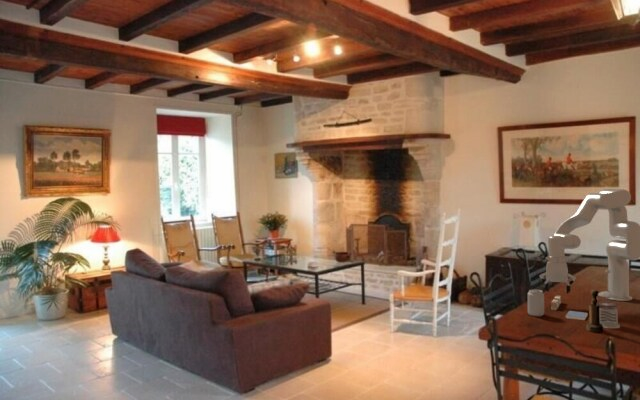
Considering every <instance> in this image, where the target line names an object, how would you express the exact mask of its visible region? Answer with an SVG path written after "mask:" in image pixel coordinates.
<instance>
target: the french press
mask: <svg viewBox="0 0 640 400" xmlns="http://www.w3.org/2000/svg"><path fill="white" fill-rule="evenodd" d="M605 273H606V274H607V279H606V280H608V273H610V271H609V270H608V269H605ZM599 297H600V298H606V299H607V298H617V297H618V295H617V294H615V293H613V292H609V291H608V290H606V291H600V292H598V295H597V297H596V299H597V301H599V300H600V299H599ZM590 304H592V300H591V302H590ZM598 305H600V324H602V325H603V329H604V328H605V329H620V327H621V325H620V324H619V320H618V319H619V318H618V317H619V316H618V315H619V313H618V312H619V308H618V307H617V306H618V304H617V303H615V302H609V301H600V302H598Z"/></svg>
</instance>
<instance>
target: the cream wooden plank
mask: <svg viewBox="0 0 640 400" xmlns="http://www.w3.org/2000/svg"><path fill="white" fill-rule="evenodd" d="M550 303H551V306H550V308H551V310H552V311H557V310H558V309H559V307H560V305H561V304H562V296H561V295H555V296H554V297H553V299H552V300H551V302H550Z"/></svg>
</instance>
